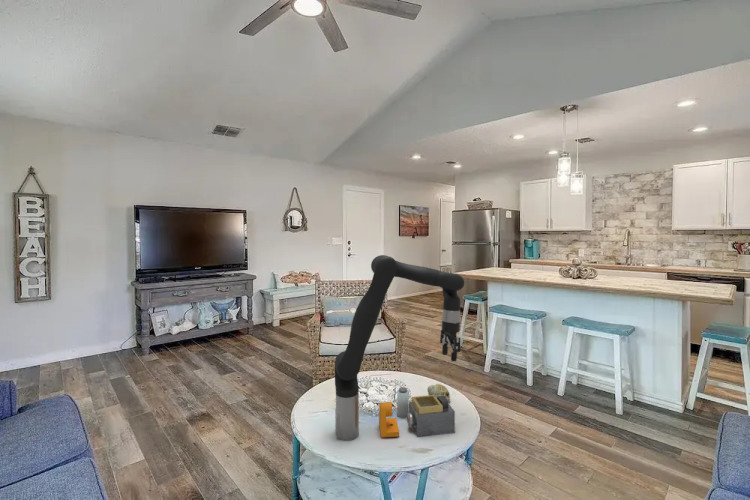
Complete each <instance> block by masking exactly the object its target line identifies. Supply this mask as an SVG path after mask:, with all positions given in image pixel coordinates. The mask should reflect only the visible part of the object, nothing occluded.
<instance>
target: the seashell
mask: <svg viewBox="0 0 750 500" xmlns="http://www.w3.org/2000/svg"><path fill="white" fill-rule="evenodd" d="M427 395H435V397H436V398H437V396H445V398H446V399H447V400H448V403H449V404H450V402H451V401H450V400H451V393H450V391H449V389H448V388H447V387H446V386H445V385H442V384H441V383H439V384H437V383H436V384H432V385H429V386H427Z"/></svg>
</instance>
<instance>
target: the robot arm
mask: <svg viewBox="0 0 750 500" xmlns="http://www.w3.org/2000/svg"><path fill="white" fill-rule="evenodd" d="M370 268H371V271H372V273H373V276H372V279H371V282H370V285H369V287H368V289H367V290H366V292H365V294H364V295H363V297H362V298H361V299H360V301H359V302H358V305H357V307H356V310H355V313H354V315H353V318H352V320H351V321H352V322H351V326H350V327H351V328H350V333H349V340H348V342H347V346H346V348H345V350H343V351H341V352H339V353H338V354H337V356H336V357H335V359H334V385H335V416H334V417H335V421H334V422H335V423H334V424H335V425H334V426H335V436H336V437H335V438H336V440H342V441H352V440H354V439H356V438H357V437H359V433H360V427H359V426H360V425H359V424H360V423H359V422H360V421H359V420H360V416H359V413H360V412H359V411H360V410H359V409H360V406H359V403H360V402H359V400H360V399H359V392H360V391H359V389H360V388H359V387H360V386H359V382H358V381H359V380H358V375H359V373H360V370H361V367H362V362H363V359H364V355H365V351H366V349H367V346H368V343H369V342H370V339H371V336H372V333H373V331H374V329H375V326H376V324H377V321H378V319H379V317H380V313H381V309H382V306H383V304H384V301H385V298H386V296H387V292H388V290H389V288H390V287H391V284H392V283H393V280H394V278H401V279H406V280H409V281H412V282H416V283H419V284H422V285H428V286H432V287H440V288H441V289H442V295H443V296H442V297H443V306H442V307H443V308H442V314H441V317H442V318H441V330H440V339H439V343H440V344H441V346H442V349H441V350H442V353H441V354H442V355H443V356H446V355H448V353H449V352H448V351H449V348H450V351H451V352H450V361H451V362H457V359H458V353H460V352H461V337H458V336H457V334H458V333H460V331H461V330H460V328H461V326H460V325H461V298H460V296H459V295H458V291H460V290H462V289H463V288H464V286H465V279H464V278H463V277H462V275H460V274H457V273H453V272H446V271H441V270H439V269H435V268H431V267H430V268H429V267H426V266H421V265H420V266H419V265H414V264H409V263H405V262H401V261H398V260H396V259H395V258H393V256H388V255H385V254H381V255H380V254H379V255H377V256H376V257H374V258H373V259H372V261H371V264H370Z"/></svg>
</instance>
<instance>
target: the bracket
mask: <svg viewBox="0 0 750 500" xmlns="http://www.w3.org/2000/svg"><path fill="white" fill-rule="evenodd" d="M392 405H393V404H392V402H391V401H388V402H387V401H386V402H385V401H383V402H379V406H378V407H379V408H378V409H379V411H378V424H379V432H380V437H381V438H395V437H399V436H400V430H399V426H398V421H397V418H395V417H392V416H393V406H392ZM388 417H389V418H388Z"/></svg>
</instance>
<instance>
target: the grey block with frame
mask: <svg viewBox="0 0 750 500" xmlns="http://www.w3.org/2000/svg"><path fill="white" fill-rule="evenodd" d="M455 412H456V411H455V410H454V409H453V408H452V406H451V404H450V403H449V404H448V400H447V399H446V398H445V396H437V398H436V397H435V395H428V394H427V395H420V396H419V395H417V396H411V401H408V413H407V418H406V423H407V426H408V427H410V428H411V429H412V431H413V433H414V434H415V436H416V438H423V437H429V436H438V435H446V434H447V435H448V434H455V431H456V430H455V428H456V427H455V425H456V423H455V422H456V419H455V418H456V417H455V416H456V413H455Z"/></svg>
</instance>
